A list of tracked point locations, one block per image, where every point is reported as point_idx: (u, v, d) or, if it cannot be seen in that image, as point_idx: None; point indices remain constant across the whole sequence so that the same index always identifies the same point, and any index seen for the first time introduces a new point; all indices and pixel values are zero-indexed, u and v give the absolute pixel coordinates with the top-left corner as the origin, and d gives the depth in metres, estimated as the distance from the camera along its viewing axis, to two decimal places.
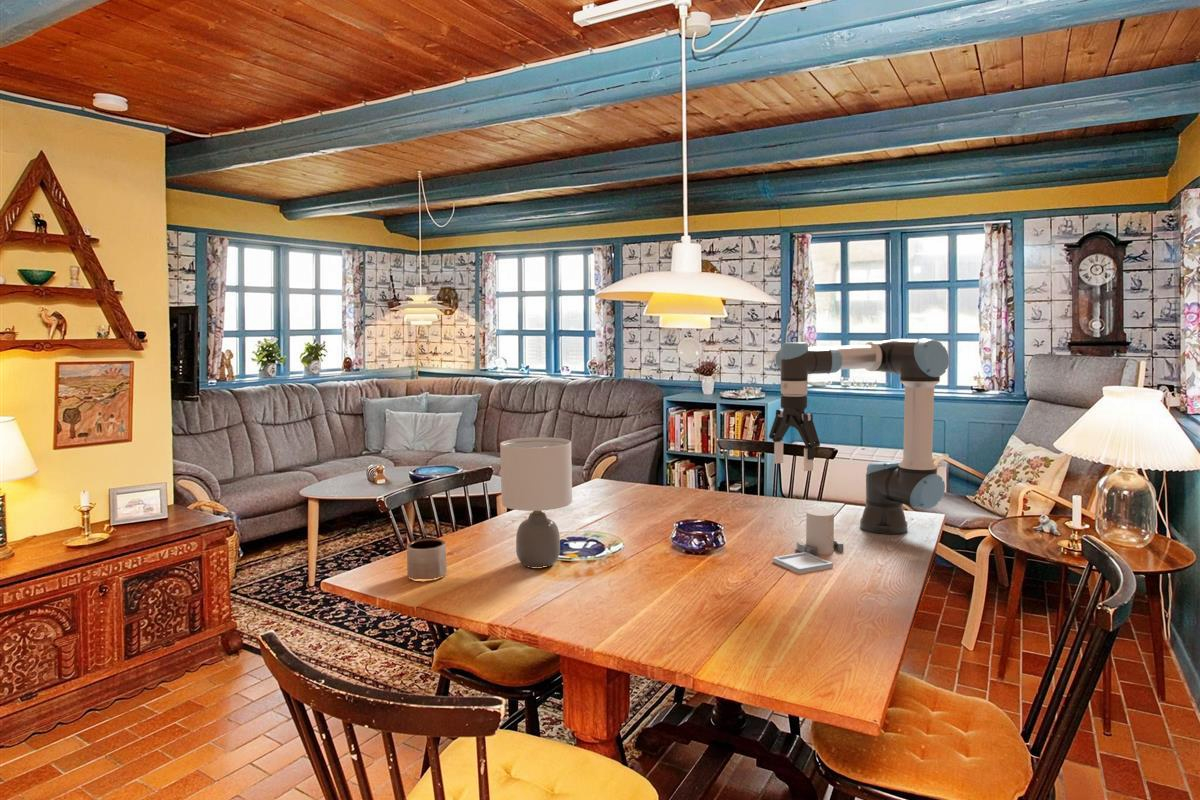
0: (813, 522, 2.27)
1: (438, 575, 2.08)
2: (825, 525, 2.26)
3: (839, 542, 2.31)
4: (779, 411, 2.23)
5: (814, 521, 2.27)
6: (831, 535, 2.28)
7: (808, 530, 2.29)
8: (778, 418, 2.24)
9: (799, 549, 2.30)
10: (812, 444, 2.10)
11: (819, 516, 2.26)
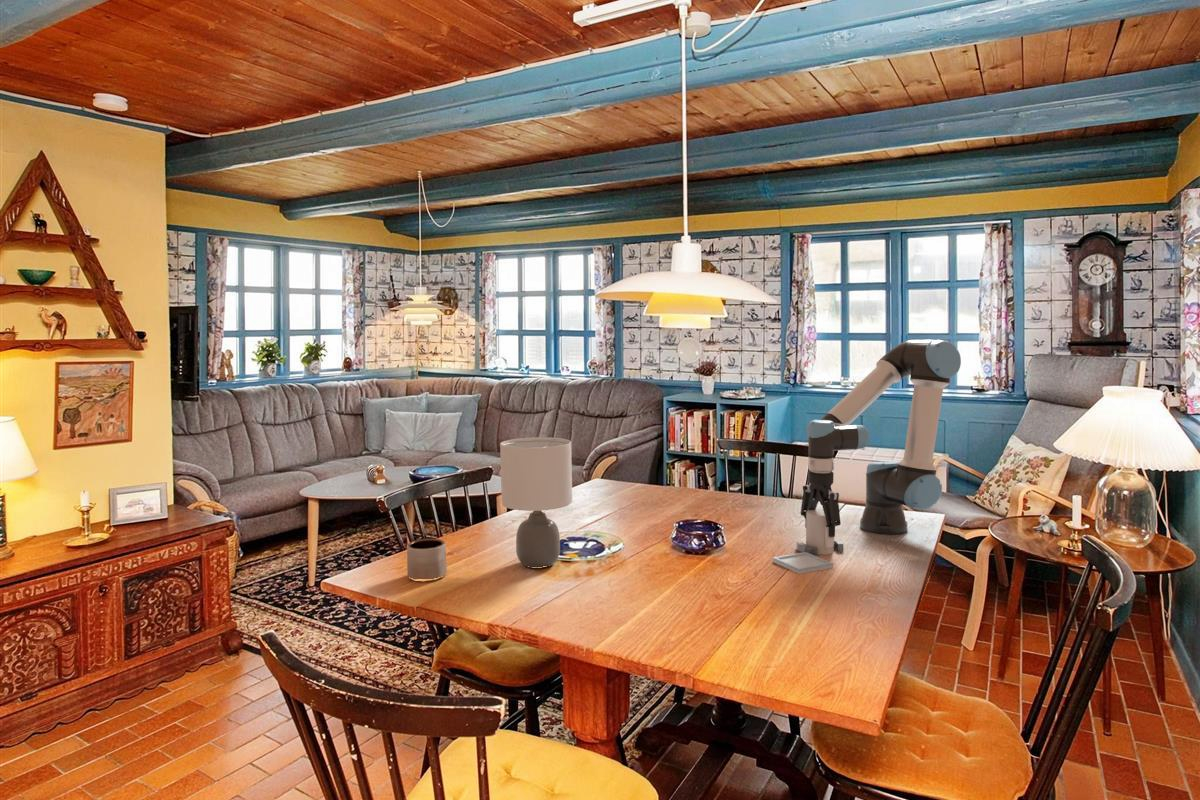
0: (813, 522, 2.27)
1: (438, 575, 2.08)
2: (825, 525, 2.26)
3: (839, 542, 2.31)
4: (806, 487, 2.34)
5: (814, 521, 2.27)
6: None
7: (808, 530, 2.29)
8: (806, 493, 2.34)
9: (799, 549, 2.30)
10: (833, 524, 2.23)
11: (819, 516, 2.26)
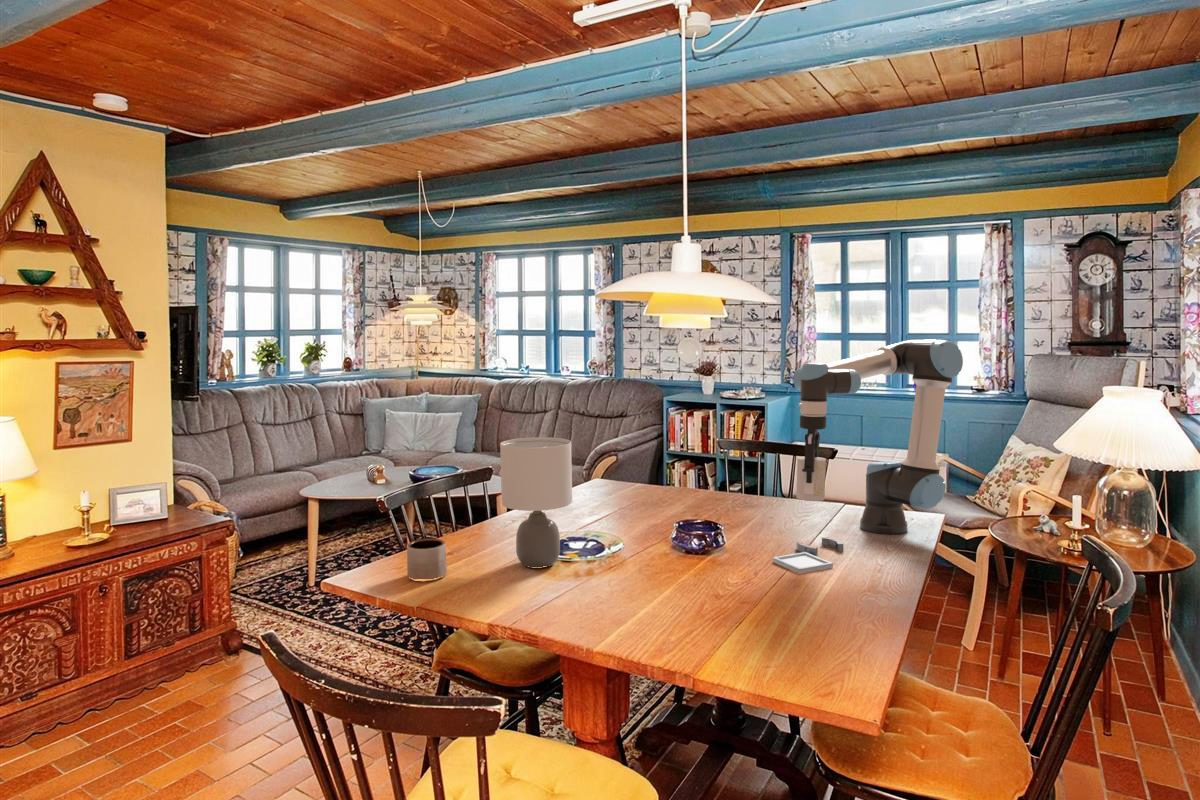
0: (797, 465, 2.22)
1: (438, 575, 2.08)
2: None
3: (839, 542, 2.31)
4: None
5: (797, 465, 2.22)
6: None
7: None
8: None
9: (799, 549, 2.30)
10: (804, 468, 2.16)
11: (800, 460, 2.21)
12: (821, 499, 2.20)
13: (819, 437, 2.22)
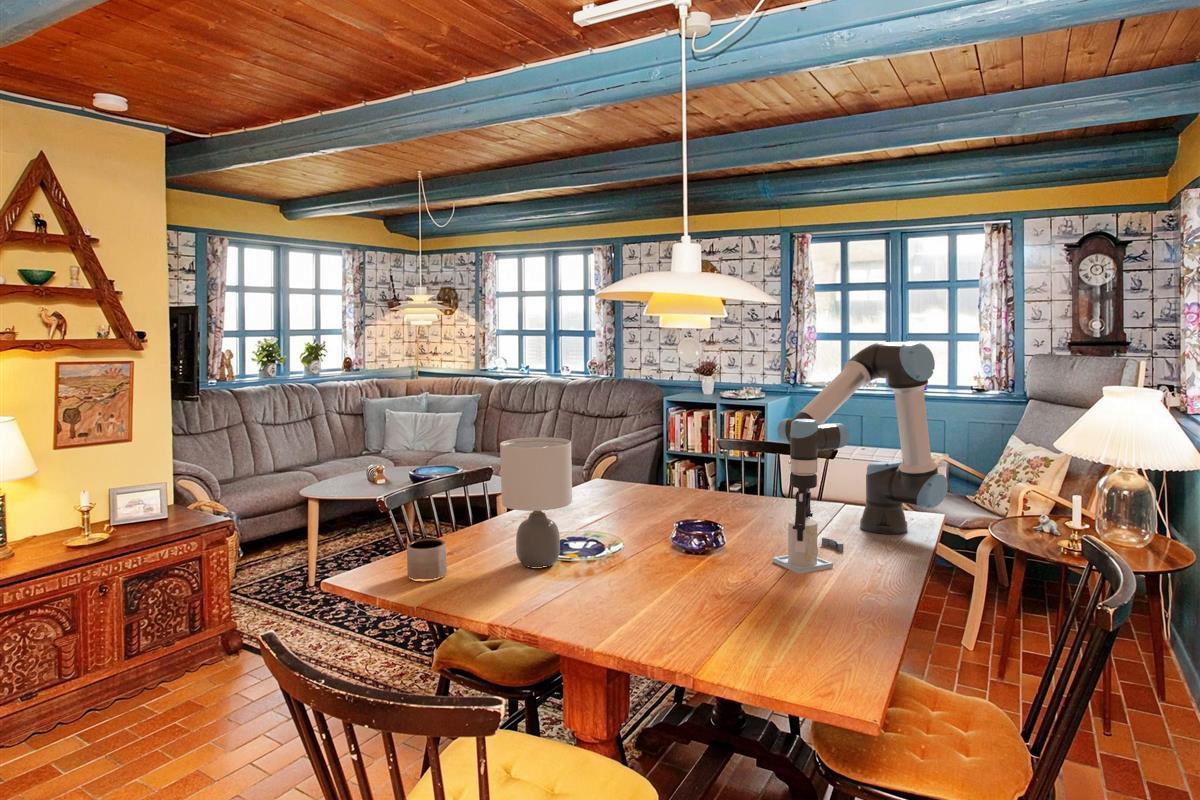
0: (788, 529, 2.16)
1: (438, 575, 2.08)
2: None
3: (839, 542, 2.31)
4: None
5: (789, 529, 2.16)
6: (805, 547, 2.13)
7: None
8: None
9: None
10: (794, 526, 2.07)
11: (791, 524, 2.14)
12: (813, 564, 2.14)
13: (810, 495, 2.16)
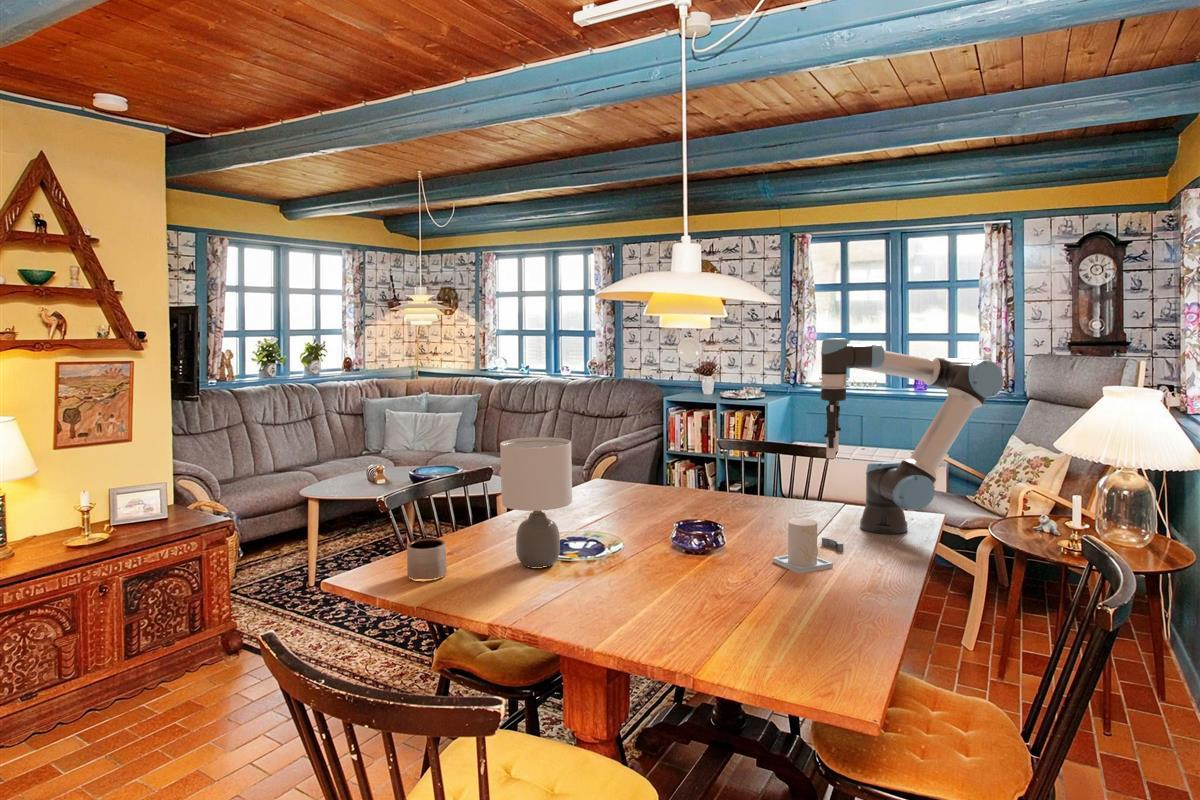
0: (788, 529, 2.16)
1: (438, 575, 2.08)
2: (796, 535, 2.13)
3: (839, 542, 2.31)
4: None
5: (788, 529, 2.16)
6: (805, 547, 2.13)
7: None
8: None
9: None
10: (826, 433, 2.26)
11: (791, 524, 2.14)
12: (813, 564, 2.14)
13: None
